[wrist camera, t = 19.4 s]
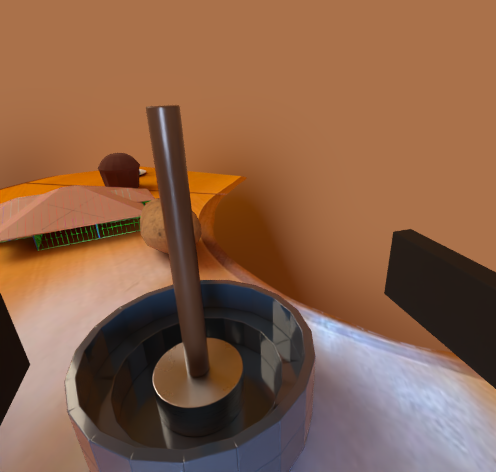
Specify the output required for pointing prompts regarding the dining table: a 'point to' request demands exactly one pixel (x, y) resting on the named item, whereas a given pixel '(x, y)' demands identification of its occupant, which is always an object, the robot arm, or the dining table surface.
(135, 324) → the bowl
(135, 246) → the dining table surface
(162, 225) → the potato
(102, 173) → the muffin
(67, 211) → the house
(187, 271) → the brown rod with cylinder
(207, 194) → the dining table surface
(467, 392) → the dining table surface
